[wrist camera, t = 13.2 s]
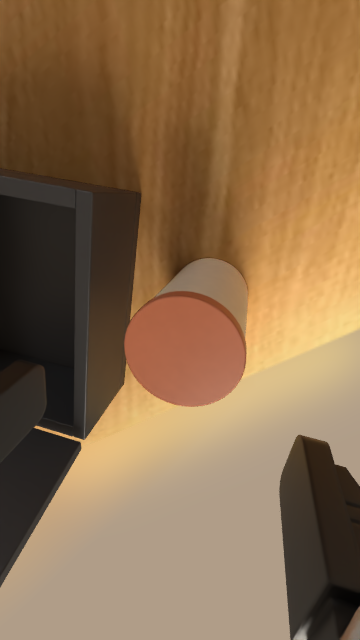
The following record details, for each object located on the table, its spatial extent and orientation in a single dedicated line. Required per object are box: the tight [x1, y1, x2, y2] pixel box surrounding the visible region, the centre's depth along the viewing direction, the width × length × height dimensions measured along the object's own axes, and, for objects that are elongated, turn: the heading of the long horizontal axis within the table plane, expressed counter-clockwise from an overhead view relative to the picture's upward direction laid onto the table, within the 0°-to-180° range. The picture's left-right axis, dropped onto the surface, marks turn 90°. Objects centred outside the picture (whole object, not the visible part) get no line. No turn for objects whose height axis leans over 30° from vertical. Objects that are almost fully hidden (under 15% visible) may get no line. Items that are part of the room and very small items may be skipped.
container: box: [124, 258, 248, 407], centre depth 18 cm, size 6×6×9 cm
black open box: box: [0, 168, 141, 440], centre depth 22 cm, size 16×14×7 cm
